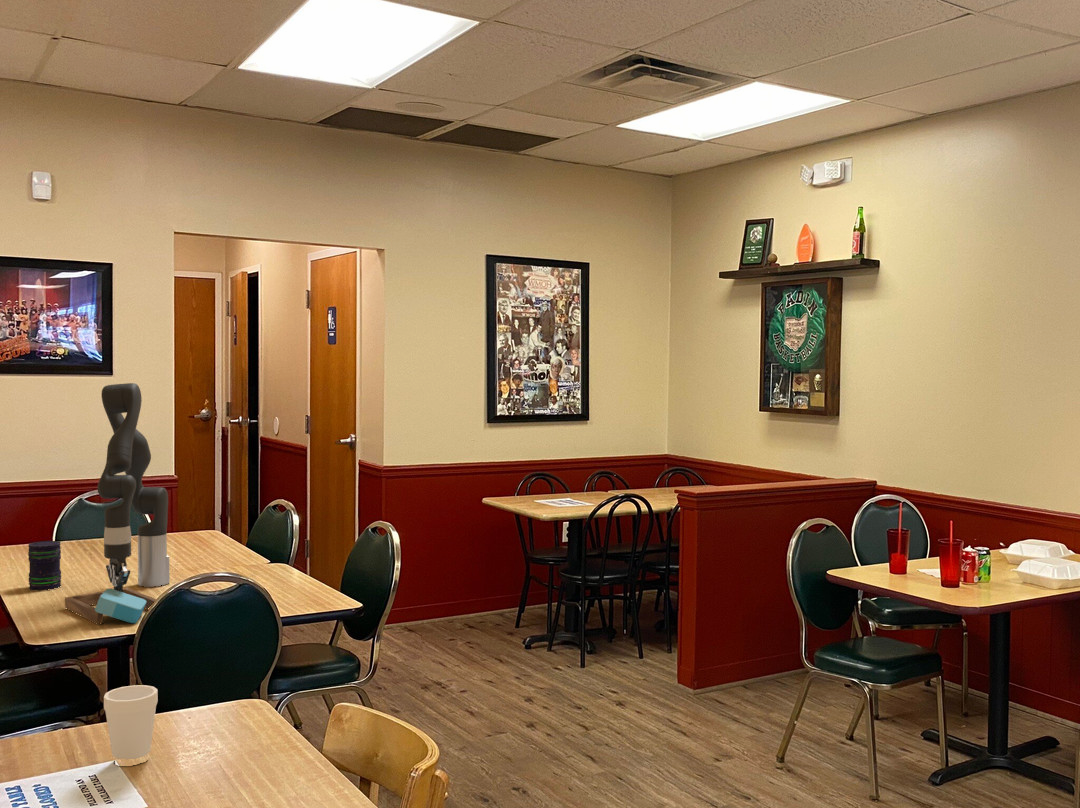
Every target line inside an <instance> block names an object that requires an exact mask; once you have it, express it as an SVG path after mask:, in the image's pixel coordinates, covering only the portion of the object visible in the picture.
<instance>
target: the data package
mask: <svg viewBox="0 0 1080 808" xmlns="http://www.w3.org/2000/svg"><path fill="white" fill-rule="evenodd" d="M104 591H105V592H104ZM104 591H103V592H104V593H103V594H102V595H101V596H100V598H99V600H98V603H97V605H95V607H94V608H95V611H96V612H98V613H101V614H103V616H107V617H110V618H114V619H118V620H120V621H123V622H126V623H130V624H136V623H137V622H138V620H139V619H140V617H142V615H143V613H144V612H143V611H144V610H145V609H144V607H145V605H146V602H147V601H146V600H144V599H142V598H139V597H135V596H132V595H129V594H126V593H123V592H120V591H117V590H114V588H107V589H105V590H104Z"/></svg>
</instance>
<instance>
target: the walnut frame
mask: <svg viewBox="0 0 1080 808" xmlns="http://www.w3.org/2000/svg"><path fill="white" fill-rule="evenodd" d="M104 592H105V590H104V591H100V592H99V591H98V592H91V593H86V594H79V595H73V596H66V597H64V609H65V608H67V609H69V610H71V611H73V612H75V613H77V614H79V615H81V616H83V617H85V618H87V619H89V620H91V621H93V622H95V623H97V624H98V625H101V624H100V623H103V624H104V614H101V613H98V612H96V611H95V608H96V607H93V606H90V605H92V604H97V603H98V600H99V598H100V596H101V595H102V594H103V593H104ZM123 593H126V594H129V595H132V596H135V597H139V598H142V599H144V600H146V601H147V602H146V605H145V607H144V608H146V609H148V608H149V607H150V606H151V605H152V604H153V603H154V602H155V601H156V599H157V598H155V597H151V596H149V595H146V594H144V593H141V592H139V591H137V590H134V589H132V588H129V587H125V588H124V587H123ZM67 609H66V610H67ZM146 609H145V610H146ZM69 610H68V611H69ZM71 611H70V612H71ZM73 612H72V613H73ZM75 613H74V614H75ZM77 614H76V615H77ZM79 615H78V616H79ZM81 616H80V617H81ZM83 617H82V618H83ZM85 618H84V619H85ZM87 619H86V620H87ZM89 620H88V621H89ZM91 621H90V622H91ZM93 622H92V623H93ZM95 623H94V624H95ZM97 624H96V625H97Z"/></svg>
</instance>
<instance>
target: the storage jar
mask: <svg viewBox="0 0 1080 808" xmlns="http://www.w3.org/2000/svg"><path fill="white" fill-rule="evenodd" d="M61 549H62V547H61V541H57V540H43V541H34V542H30V543H28V552H27V553H28V554H27V557H28V558H27V559H28V562H29V571H28V582H29V583H28V585H29V587H28V589H30V590H29V591H32V590H47V591H49V590H48V589H54V588H58V587H60V586H61V587H62V583H61V582H62V570H61V557H62V556H61V555H62V550H61ZM61 587H60V588H61ZM58 589H59V588H58ZM54 590H55V589H54Z"/></svg>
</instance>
